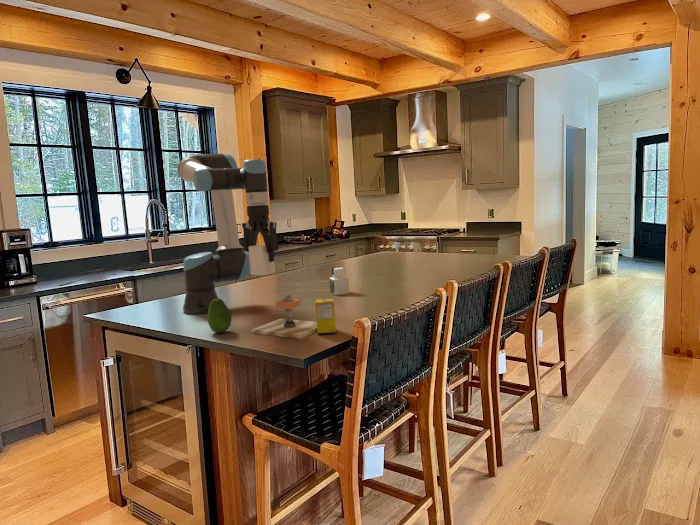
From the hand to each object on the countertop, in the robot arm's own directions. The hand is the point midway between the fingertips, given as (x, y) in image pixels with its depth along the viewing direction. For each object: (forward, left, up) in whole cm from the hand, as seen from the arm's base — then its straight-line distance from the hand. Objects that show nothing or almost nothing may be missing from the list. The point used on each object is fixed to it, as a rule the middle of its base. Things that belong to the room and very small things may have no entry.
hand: (262, 270), depth 184 cm
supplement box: (+26, -2, -20) cm, 33 cm away
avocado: (-9, -14, -20) cm, 26 cm away
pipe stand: (+12, -3, -19) cm, 23 cm away
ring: (+12, -3, -11) cm, 17 cm away
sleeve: (0, 0, -1) cm, 1 cm away
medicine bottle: (-3, +57, -20) cm, 60 cm away
